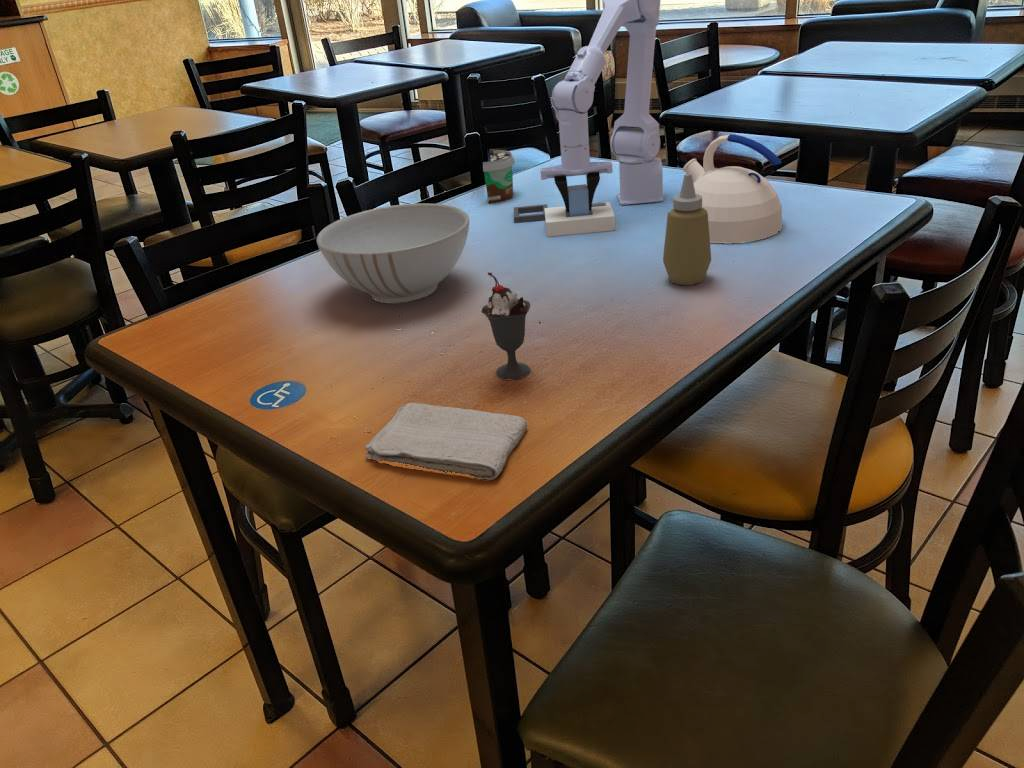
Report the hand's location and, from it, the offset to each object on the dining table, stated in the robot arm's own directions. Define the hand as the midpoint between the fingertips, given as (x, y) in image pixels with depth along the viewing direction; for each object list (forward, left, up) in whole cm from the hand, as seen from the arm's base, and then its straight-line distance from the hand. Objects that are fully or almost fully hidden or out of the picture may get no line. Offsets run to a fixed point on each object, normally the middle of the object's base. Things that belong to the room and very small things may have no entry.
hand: (578, 210), depth 163 cm
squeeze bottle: (-16, +34, -4) cm, 38 cm away
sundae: (+14, +62, -4) cm, 64 cm away
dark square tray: (+10, -10, -3) cm, 15 cm away
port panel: (0, 0, -3) cm, 3 cm away
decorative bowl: (+34, +27, -4) cm, 44 cm away
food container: (+16, -27, -4) cm, 32 cm away
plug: (0, 0, -2) cm, 2 cm away
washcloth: (+22, +79, -4) cm, 83 cm away
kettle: (-29, +9, -4) cm, 31 cm away
